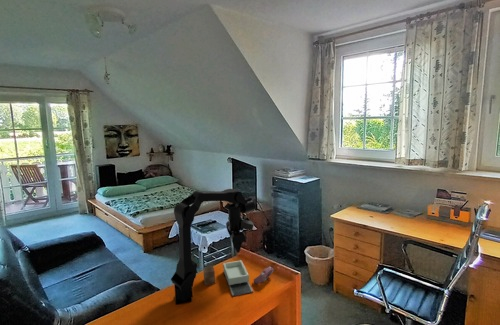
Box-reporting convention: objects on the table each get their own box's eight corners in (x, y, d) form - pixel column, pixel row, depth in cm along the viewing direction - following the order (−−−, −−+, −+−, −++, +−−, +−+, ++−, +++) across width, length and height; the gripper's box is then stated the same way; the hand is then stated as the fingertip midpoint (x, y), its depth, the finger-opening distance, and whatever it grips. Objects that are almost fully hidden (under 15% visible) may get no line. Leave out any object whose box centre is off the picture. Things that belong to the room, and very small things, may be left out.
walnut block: (205, 285, 130) (204, 272, 129) (204, 279, 134) (203, 267, 133) (215, 283, 131) (214, 271, 130) (213, 277, 135) (213, 266, 134)
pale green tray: (229, 286, 127) (228, 278, 126) (223, 270, 140) (223, 263, 139) (249, 282, 129) (248, 275, 129) (241, 267, 142) (241, 260, 142)
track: (232, 296, 121) (232, 295, 121) (223, 271, 140) (223, 270, 140) (253, 292, 124) (253, 290, 124) (241, 268, 143) (241, 267, 142)
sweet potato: (259, 289, 128) (265, 278, 125) (252, 282, 130) (257, 271, 127) (271, 278, 136) (277, 267, 133) (264, 271, 138) (269, 261, 135)
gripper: (257, 221, 127) (258, 254, 130) (247, 207, 145) (248, 237, 148) (231, 224, 125) (233, 258, 128) (225, 210, 143) (226, 240, 146)
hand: (236, 247), depth 137 cm, fingers open, 9 cm apart
